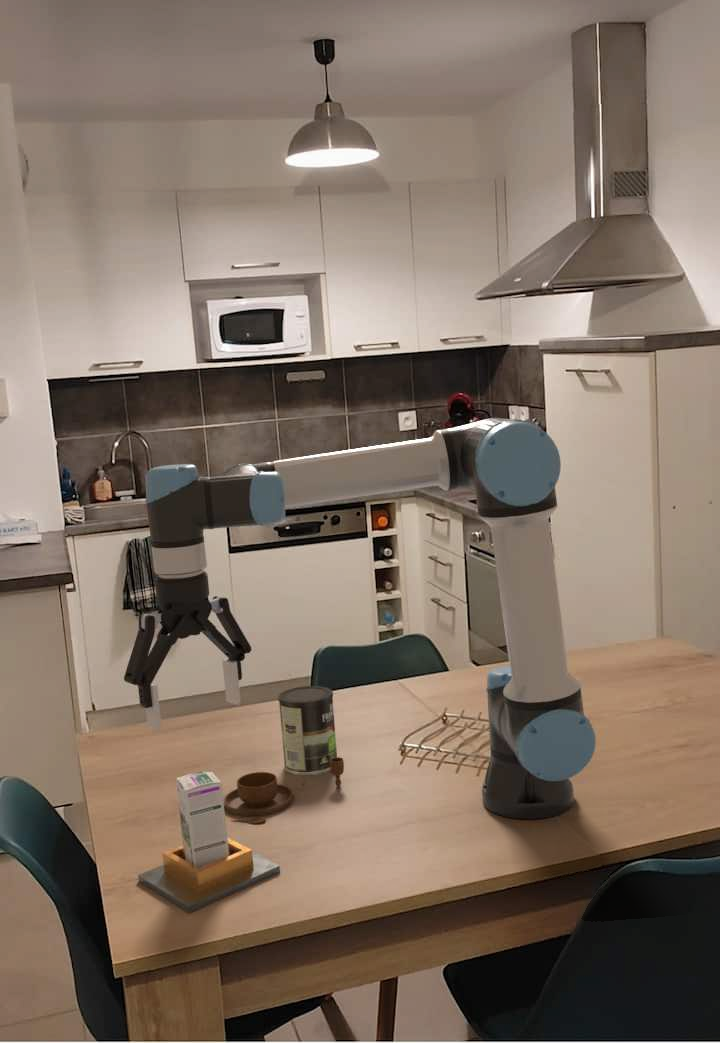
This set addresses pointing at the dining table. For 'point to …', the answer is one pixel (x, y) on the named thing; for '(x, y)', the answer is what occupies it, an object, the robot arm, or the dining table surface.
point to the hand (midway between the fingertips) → (195, 715)
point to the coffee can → (307, 729)
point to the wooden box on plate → (206, 876)
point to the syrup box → (202, 818)
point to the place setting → (267, 792)
